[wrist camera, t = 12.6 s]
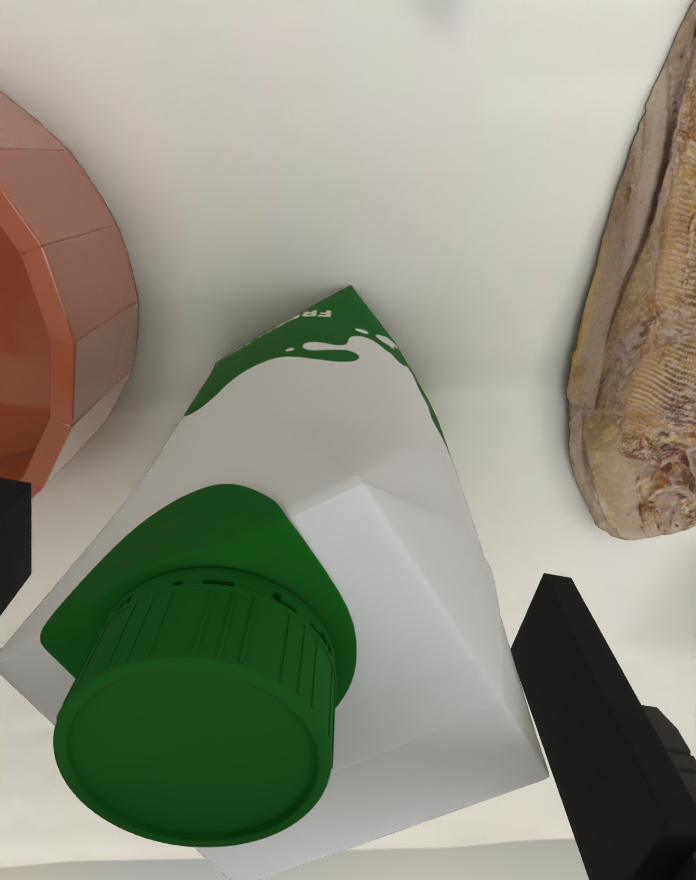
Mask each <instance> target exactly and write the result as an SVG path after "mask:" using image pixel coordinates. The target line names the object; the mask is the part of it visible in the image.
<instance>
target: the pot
mask: <svg viewBox="0 0 696 880" xmlns="http://www.w3.org/2000/svg"><path fill="white" fill-rule="evenodd" d="M137 335H138V301H137V295H136V288H135V280H134V276H133V272H132V269H131V265H130V261H129V257H128V253H127V250H126V248H125V245H124V243H123V240H122V238H121V235H120V232H119V230H118V227H117V225H116V223H115V221H114V219H113V217H112V215H111V213H110V211H109V209H108V208H107V206H106V204H105V202H104V200H103V198H102V196H101V195H100V193H99V192H98V190H97V189H96V187H95V186H94V184H93V183H92V181H91V180H90V178H89V177H88V175H87V174H86V173H85V171H84V170H83V168H82V167H81V166H80V165H79V164H78V163H77V161H76V160H75V159H74V158H73V156H72V155H71V153H70V152H69V151H68V150H67V149H66V148H65V147H64V146H63V145H62V144H61V143H60V142H59V141H58V140H57V139H56V138H55V137H54V136H53V135H52V134H51V133H50V132H49V131H48V130H47V129H46V128H45V127H44V126H43V125H42V124H40V123H39V122H38V121H37V120H36V119H35V118H33V117H32V116H31V115H30V114H28V113H27V112H26V111H24V110H23V109H22V108H20V107H19V106H18V105H17V104H15V103H14V102H13V101H11V100H10V99H8V98H7V97H6V96H5V95H3V94H2V93H1V92H0V477H1V478H6V479H12V480H18V481H23V482H29V483H31V499H32V498H33V497H34V496H35V495H37V494H38V493H39V492H40V491H41V490H42V489H43V488H44V487H45V486H46V485H47V484H48V483H49V482H50V481H51V480H52V479H53V477H54V476H55V475H56V474H57V473H58V472H59V471H60V470H61V469H62V468H63V467H64V466H65V465H66V463H67V462H68V461H69V460H70V459H71V458H72V457H73V456H74V455H75V454H76V453H77V452H78V451H79V449H80V448H81V447H82V446H83V445H84V444H85V443H86V442H87V441H88V440H89V439H90V438H91V436H92V435H93V434H94V433H95V432H96V431H97V430H98V429H99V428H100V427H101V426H102V425H103V424H104V422H105V421H106V420H107V418H108V416H109V414H110V412H111V410H112V408H113V406H114V404H115V403H116V402H117V400H118V399H119V396H120V394H121V392H122V390H123V388H124V386H125V384H126V382H127V380H128V377H129V375H130V373H131V371H132V367H133V362H134V356H135V349H136V342H137Z"/></svg>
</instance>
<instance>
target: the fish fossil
mask: <svg viewBox="0 0 696 880" xmlns="http://www.w3.org/2000/svg"><path fill="white" fill-rule="evenodd" d="M646 110H647V112H646V114H645V115H644V116H643V118H644V119H642V120H641V122H640V125H639V130H638V132H637V134H636V136H635V139H634V142H633V145H632V147H631V150H630V153H629V158H628V163H627V166H626V169H625V172H624V174H623V176H622V178H621V181H620V183H619V185H618V188H617V192H616V195H615V199H614V202H613V205H612V209H611V212H610V215H609V222H608V225H607V228H606V230H605V233H604V236H603V240H602V244H601V247H600V252H599V259H598V264H597V268H596V271H595V275H594V278H593V282H592V285H591V288H590V291H589V293H588V297H587V300H586V304H585V308H584V313H583V316H582V318H581V321H580V330H579V335H578V340H577V345H576V347H577V351H574V352H573V356H572V364H571V371H570V378H569V383H568V387H567V392H566V395H567V399H568V402H569V415H570V419H571V421H570V422H569V428H570V433H571V435H570V440H569V449H570V461H571V465H572V468H573V472H574V476H575V480H576V482H577V485H578V487H579V489H580V492H581V494H582V496H583V497H584V499H585V501H586V503H587V504H588V506H589V510H590V514H591V515H592V517H593V519H594V522H595V524H596V525H597V526H598V527H599V528H601V529H602V530H604V531H606V532H608V533H609V534H610V535H611V536H613V537H616V538H620V539H624V540H637V539H643V538H650V537H656V536H660V535H667V534H673V533H676V532H679V531H683V530H687V529H690V528H692V527H694V526H696V0H695V1H694V2H693V4H692V5H691V7H690V9H689V11H688V14H687V16H686V18H685V20H684V22H683V23H682V25H681V27H680V29H679V31H678V33H677V36H676V38H675V40H674V43H673V46H672V48H671V50H670V53H669V55H668V57H667V60H666V62H665V64H664V67H663V69H662V71H661V73H660V76H659V78H658V80H657V82H656V84H655V85H654V88H653V90H652V93H651V95H650V98H649V100H648V102H647V104H646ZM646 117H647V118H646Z"/></svg>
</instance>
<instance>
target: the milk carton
mask: <svg viewBox="0 0 696 880" xmlns="http://www.w3.org/2000/svg"><path fill="white" fill-rule="evenodd" d="M0 674H1V675H2V676H3V677H4V678H5V679H6V680H7V681H8V682H9V683H10V684H11V685H12V686H13V687H14V688H15V689H16V690H18V691H19V692H20V693H21V694H22V695H23V696H24V697H25V698H26V699H27V700H28V701H29V702H30V703H31V704H32V705H33V706H34V707H36V708H37V709H38V710H39V711H40V712H41V713H42V714H43V715H44V716H45V717H46V718H47V719H48V720H49V721H50V722H51V723H53V724H54V725H55V729H54V736H53V747H54V755H55V759H56V763H57V766H58V768H59V770H60V773H61V775H62V777H63V778H64V780H65V782H66V783H67V785H68V786H69V788H70V789H71V790H72V792H73V793H74V794H75V795H76V796H77V797H78V798H79V799H80V801H82V802H83V803H84V804H85V805H86V806H87V807H88V808H89V809H91V810H92V811H93V812H94V813H96V814H97V815H99V816H100V817H102V818H103V819H105V820H106V821H108V822H110V823H112V824H113V825H115V826H117V827H119V828H121V829H123V830H126V831H128V832H130V833H133V834H135V835H138V836H141V837H144V838H147V839H150V840H154V841H158V842H162V843H167V844H172V845H179V846H188V847H194V848H195V849H196V850H198V851H199V852H200V853H201V854H202V855H203V856H204V857H205V858H206V859H207V860H208V861H209V862H211V863H212V864H213V865H214V866H215V867H216V868H217V869H218V870H219V871H220V872H221V873H222V874H223V875H225V876H226V877H227V878H228V879H229V880H261V879H264V878H267V877H269V876H272V875H275V874H278V873H281V872H284V871H286V870H289V869H292V868H295V867H298V866H301V865H304V864H306V863H309V862H312V861H315V860H318V859H321V858H323V857H326V856H329V855H332V854H335V853H338V852H340V851H343V850H346V849H349V848H352V847H355V846H357V845H360V844H363V843H366V842H369V841H372V840H374V839H377V838H380V837H383V836H386V835H389V834H391V833H394V832H397V831H400V830H403V829H406V828H408V827H411V826H414V825H417V824H420V823H423V822H425V821H428V820H431V819H434V818H437V817H440V816H442V815H445V814H448V813H451V812H454V811H457V810H459V809H462V808H465V807H468V806H471V805H474V804H476V803H479V802H482V801H485V800H488V799H491V798H493V797H496V796H499V795H502V794H505V793H508V792H510V791H513V790H516V789H519V788H522V787H525V786H527V785H530V784H533V783H536V782H538V781H541V780H544V779H546V778H548V777H549V772H548V769H547V766H546V763H545V760H544V757H543V754H542V751H541V748H540V745H539V742H538V739H537V736H536V733H535V729H534V726H533V723H532V719H531V716H530V713H529V709H528V706H527V703H526V700H525V696H524V693H523V690H522V686H521V683H520V680H519V676H518V673H517V670H516V666H515V663H514V660H513V656H512V653H511V650H510V646H509V643H508V640H507V636H506V633H505V630H504V626H503V623H502V619H501V616H500V611H499V604H498V597H497V592H496V587H495V582H494V578H493V574H492V571H491V567H490V566H489V564H488V562H487V560H486V558H485V557H484V555H483V552H482V549H481V545H480V542H479V539H478V535H477V532H476V529H475V525H474V522H473V519H472V517H471V514H470V511H469V508H468V505H467V502H466V499H465V496H464V493H463V490H462V488H461V485H460V482H459V479H458V476H457V473H456V470H455V467H454V464H453V462H452V459H451V456H450V453H449V450H448V447H447V444H446V441H445V439H444V436H443V433H442V430H441V427H440V425H439V422H438V420H437V417H436V415H435V413H434V411H433V409H432V407H431V405H430V403H429V401H428V399H427V397H426V395H425V394H424V392H423V390H422V388H421V386H420V385H419V383H418V381H417V379H416V377H415V376H414V374H413V372H412V370H411V369H410V367H409V365H408V364H407V362H406V360H405V359H404V357H403V356H402V354H401V352H400V351H399V349H398V347H397V346H396V344H395V342H394V341H393V339H392V338H391V337H390V335H389V334H388V333H387V332H386V330H385V329H384V328H383V326H382V325H381V324H380V323H379V321H378V320H377V319H376V317H375V316H374V315H373V314H372V312H371V311H370V310H369V308H368V307H367V306H366V305H365V303H364V302H363V301H362V299H361V298H360V297H359V296H358V294H357V293H356V292H355V290H354V289H353V288H352V286H348V287H347V288H345V289H343V290H341V291H339V292H338V293H336V294H334V295H332V296H330V297H329V298H327V299H325V300H323V301H321V302H320V303H318V304H316V305H314V306H312V307H311V308H309V309H307V310H305V311H303V312H302V313H300V314H298V315H296V316H294V317H293V318H291V319H289V320H287V321H285V322H284V323H282V324H280V325H278V326H276V327H274V328H273V329H271V330H269V331H267V332H265V333H264V334H262V335H260V336H258V337H257V338H255V339H253V340H252V341H250V342H248V343H247V344H245V345H243V346H242V347H240V348H239V349H237V350H235V351H234V352H232V353H230V354H229V355H227V356H226V357H224V358H223V359H221V360H220V361H218V362H217V363H216V364H215V366H214V368H213V370H212V372H211V374H210V376H209V377H208V379H207V380H206V382H205V383H204V385H203V386H202V388H201V390H200V391H199V393H198V394H197V396H196V397H195V399H194V400H193V402H192V404H191V405H190V407H189V408H188V410H187V411H186V413H185V414H184V416H183V418H182V419H181V421H180V422H179V424H178V425H177V427H176V428H175V430H174V431H173V433H172V435H171V436H170V438H169V439H168V441H167V442H166V444H165V445H164V447H163V449H162V450H161V452H160V453H159V455H158V456H157V458H156V459H155V461H154V463H153V464H152V466H151V467H150V469H149V470H148V472H147V473H146V475H145V476H144V478H143V479H142V481H141V482H140V483H139V485H138V486H137V488H136V489H135V490H134V492H133V493H132V494H131V496H130V497H129V498H128V499H127V500H126V502H125V503H124V504H123V505H122V506H121V508H120V509H119V510H118V511H117V513H116V514H115V515H114V516H113V517H112V519H111V520H110V521H109V522H108V523H107V525H106V526H105V527H104V528H103V529H102V531H101V532H100V533H99V534H98V535H97V536H96V538H95V539H94V540H93V541H92V542H91V544H90V545H89V546H88V547H87V548H86V550H85V551H84V552H83V553H82V554H81V556H80V557H79V558H78V559H77V560H76V562H75V563H74V564H73V565H72V566H71V568H70V569H69V570H68V571H67V572H66V573H65V575H64V576H63V577H62V578H61V579H60V580H59V582H58V583H57V584H56V585H55V586H54V588H53V589H52V590H51V591H50V592H49V593H48V595H47V596H46V597H45V598H44V599H43V601H42V602H41V603H40V604H39V605H38V606H37V608H36V609H35V610H34V611H33V612H32V613H31V615H30V616H29V617H28V618H27V619H26V621H25V622H24V623H23V624H22V625H21V626H20V628H19V629H18V630H17V631H16V632H15V633H14V635H13V636H12V637H11V638H10V639H9V640H8V642H7V643H6V644H5V645H4V646H3V648H2V649H1V650H0Z"/></svg>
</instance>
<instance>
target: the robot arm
mask: <svg viewBox="0 0 696 880" xmlns="http://www.w3.org/2000/svg"><path fill="white" fill-rule="evenodd" d="M30 575H31V483H29V482H23V481H18V480H12V479H6V478H1V477H0V615H1V614H2V613H3V611H4V610H5V609H6V607H7V606H8V605H9V603H10V602H11V601H12V599H13V598H14V597H15V595H16V594H17V592H18V591H19V590H20V588H21V587H22V586H23V584H24V583H25V582H26V580H27V579H28V578H29V576H30ZM510 650H511V653H512V656H513V660H514V663H515V666H516V670H517V673H518V675H519V678H520V681H521V684H522V687H523V690H524V693H525V696H526V699H527V701H528V704H529V707H530V710H531V713H532V716H533V719H534V722H535V725H536V727H537V730H538V733H539V736H540V739H541V742H542V745H543V748H544V750H545V753H546V756H547V759H548V762H549V765H550V768H551V771H552V774H553V776H554V779H555V782H556V785H557V788H558V791H559V794H560V797H561V800H562V802H563V805H564V808H565V811H566V814H567V817H568V820H569V823H570V826H571V828H572V831H573V834H574V837H575V840H576V843H577V846H578V848H579V852H580V854H581V857H582V860H583V863H584V866H585V869H586V872H587V875H588V877H589V880H696V760H695V758H694V756H691V754H690V752H691V751H690V749H689V748H688V746H687V744H686V743H685V741H684V739H683V738H682V736H681V734H680V733H679V731H678V729H677V728H676V727H675V726H674V725H673V724H672V723H671V722H670V721H669V720H668V719H667V718H666V717H665V715H664V714H663V713H662V712H661V711H660V710H659V709H658V708H657V707H651V706H644V705H641V704H640V702H639V700H638V698H637V696H636V695H635V693H634V691H633V689H632V687H631V686H630V684H629V682H628V680H627V678H626V676H625V675H624V673H623V671H622V669H621V667H620V666H619V664H618V662H617V660H616V658H615V657H614V655H613V653H612V651H611V649H610V647H609V646H608V644H607V642H606V640H605V638H604V637H603V635H602V633H601V631H600V629H599V628H598V626H597V624H596V622H595V620H594V619H593V617H592V615H591V613H590V611H589V609H588V608H587V606H586V604H585V602H584V600H583V599H582V597H581V595H580V593H579V591H578V590H577V588H576V586H575V584H574V582H573V580H572V579H571V578H569V577H563V576H557V575H552V574H546V573H544V574H543V576H542V578H541V581H540V583H539V585H538V588H537V590H536V592H535V595H534V597H533V599H532V601H531V604H530V606H529V608H528V611H527V613H526V615H525V617H524V620H523V622H522V624H521V627H520V629H519V631H518V633H517V636H516V638H515V640H514V643H513V645H512V647H511V649H510Z"/></svg>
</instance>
